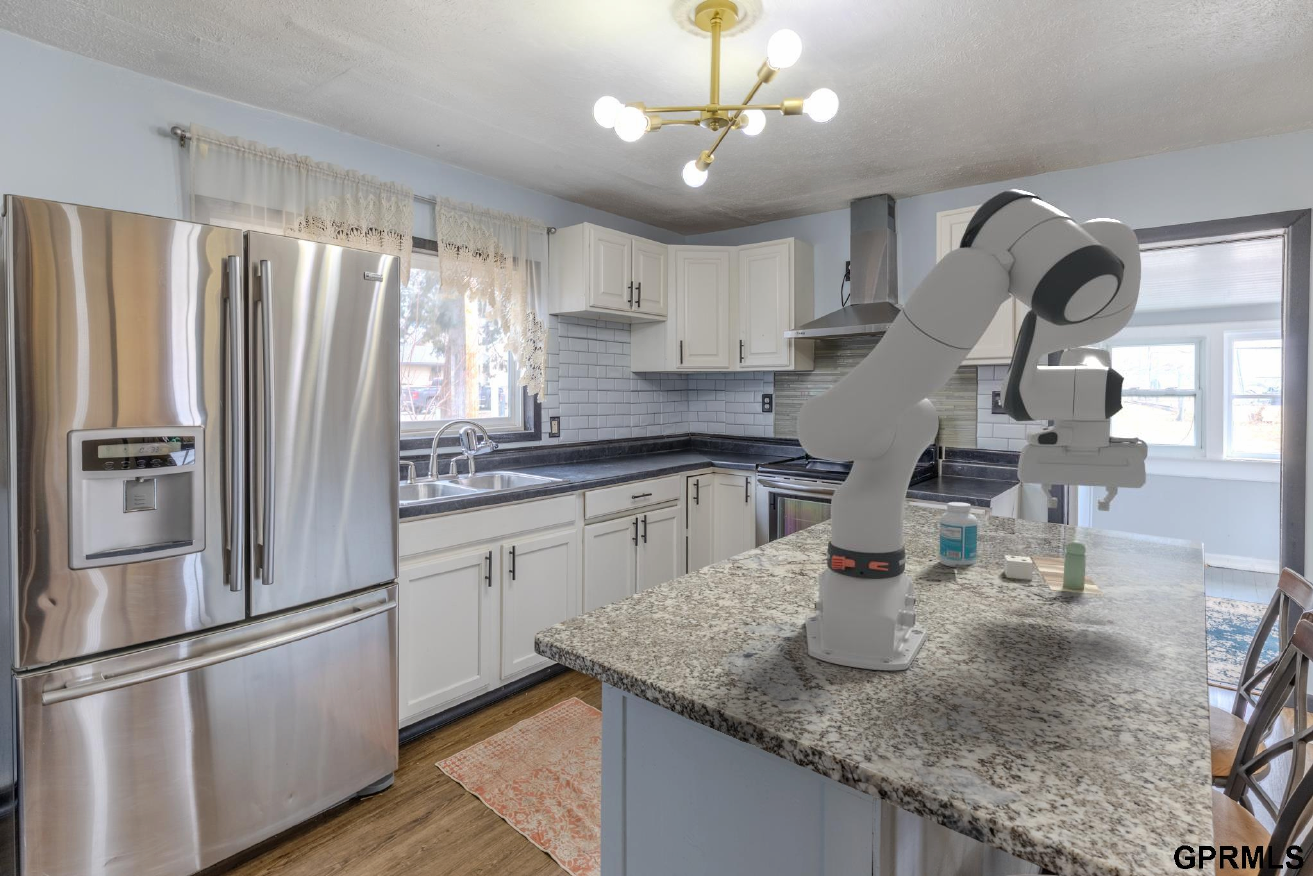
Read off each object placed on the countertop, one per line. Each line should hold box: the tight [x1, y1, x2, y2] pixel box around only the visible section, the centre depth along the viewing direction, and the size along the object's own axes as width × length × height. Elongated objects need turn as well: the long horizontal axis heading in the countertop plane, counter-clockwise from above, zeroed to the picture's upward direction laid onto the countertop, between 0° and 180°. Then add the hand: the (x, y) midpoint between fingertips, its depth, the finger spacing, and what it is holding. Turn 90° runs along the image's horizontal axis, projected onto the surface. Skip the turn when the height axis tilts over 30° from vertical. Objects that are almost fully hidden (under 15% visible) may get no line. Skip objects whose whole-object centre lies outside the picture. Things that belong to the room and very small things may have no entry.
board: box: [1028, 555, 1104, 596], centre depth 134 cm, size 26×9×1 cm, turn 158°
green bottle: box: [1063, 540, 1087, 590], centre depth 125 cm, size 3×3×9 cm
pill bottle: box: [939, 501, 978, 568], centre depth 144 cm, size 8×7×14 cm
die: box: [1003, 554, 1034, 581], centre depth 133 cm, size 4×4×5 cm
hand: (1077, 508), depth 124 cm, fingers open, 7 cm apart
